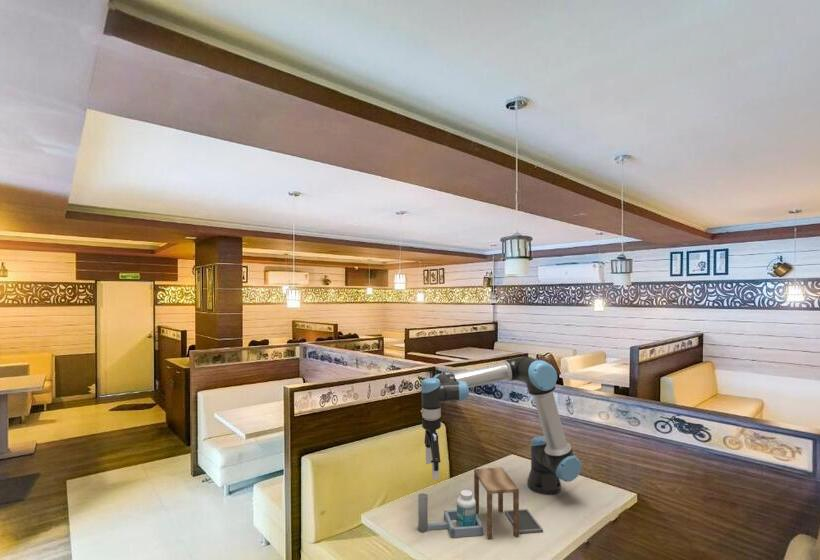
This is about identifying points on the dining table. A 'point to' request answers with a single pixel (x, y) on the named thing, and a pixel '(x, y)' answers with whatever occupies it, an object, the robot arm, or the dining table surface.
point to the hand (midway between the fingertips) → (432, 470)
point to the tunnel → (493, 484)
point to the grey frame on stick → (448, 515)
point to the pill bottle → (466, 509)
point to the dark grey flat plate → (525, 522)
